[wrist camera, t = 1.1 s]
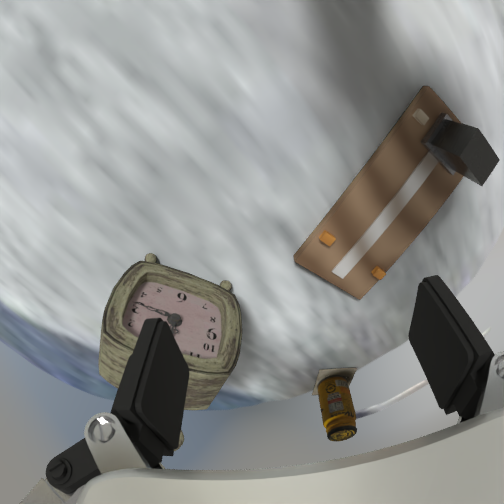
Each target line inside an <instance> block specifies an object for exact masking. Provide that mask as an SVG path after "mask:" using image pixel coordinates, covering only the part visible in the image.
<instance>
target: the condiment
mask: <svg viewBox="0 0 504 504" xmlns="http://www.w3.org/2000/svg"><path fill="white" fill-rule="evenodd" d="M356 370H357V368H340V369H336V368H335V369H325V370H319V374H318V377H317V380H316V383H315V387H314V390H313V393H312V395H319V402H320V407H321V412H322V419H323V425H324V427H325V428H326V432H327V437H328V439H329V440H331V441H343V440H347V439H349V438H351V437H353V436H354V435H355V434H356V432H357V428H356V422H355V420H356V414H355V410H354V406H353V402H352V398H351V394H350V390H349V385H350V383H351V381H352V379H353V376H354V374H355V372H356ZM328 375H329V376H328ZM326 376H328V377H326Z"/></svg>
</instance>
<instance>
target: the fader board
mask: <svg viewBox="0 0 504 504" xmlns="http://www.w3.org/2000/svg"><path fill="white" fill-rule="evenodd" d="M441 113H446V114H448V116H449V117H450V118H451V119H452V120H453V121H455V122H458V123H461V122H460V121H459V120H458V119H457V117H456V116H455V115H454V114H453V113H452V111H451V110H450V109H449V108H448V107H447V106H446V104H445V103H444V102H443V101H442V100H441V99H440V98H439V96H438V95H437V94H436V93H435V92H434V91H433V90H432V89H431V88H430V87H429V86H423V87H422V88H421V90H420V91H419V93H418V94H417V95H416V97H415V98H414V100H413V101H412V102H411V104H410V105H409V107H408V108H407V109H406V111H405V112H404V113H403V115H402V116H401V117H400V119H399V120H398V122H397V123H396V124H395V126H394V127H393V128H392V130H391V131H390V132H389V134H388V135H387V136H386V138H385V139H384V140H383V142H382V143H381V144H380V146H379V147H378V148H377V150H376V151H375V152H374V154H373V155H372V156H371V158H370V159H369V160H368V162H367V163H366V164H365V166H364V167H363V168H362V170H361V171H360V172H359V173H358V175H357V176H356V177H355V179H354V180H353V181H352V183H351V184H350V185H349V186H348V188H347V189H346V190H345V192H344V193H343V194H342V195H341V197H340V198H339V199H338V201H337V202H336V203H335V204H334V206H333V207H332V208H331V209H330V211H329V212H328V213H327V214H326V216H325V217H324V218H323V220H322V221H321V222H320V223H319V225H318V226H317V227H316V228H315V230H314V231H313V232H312V233H311V235H310V236H309V237H308V238H307V240H306V241H305V242H304V243H303V244H302V246H301V247H300V248H299V249H298V251H297V252H296V253H295V254H294V260H295V262H296V263H298V264H300V265H301V266H303V267H305V268H306V269H308V270H310V271H312V272H313V273H315V274H317V275H318V276H320V277H322V278H324V279H325V280H327V281H329V282H330V283H332V284H334V285H335V286H337V287H339V288H341V289H342V290H344V291H346V292H347V293H349V294H351V295H352V296H354V297H356V298H357V299H359V300H360V299H361V298H362V297H363V296H364V295H365V294H366V293H367V292H368V291H369V290H370V289H371V288H372V287H373V286H374V285H375V283H376V282H377V281H378V280H381V279H382V278H383V277H384V276H385V275H386V272H387V270H388V269H389V268H390V267H391V266H392V265H393V264H394V263H395V261H396V260H397V259H398V258H399V257H400V256H401V255H402V254H403V252H404V251H405V250H406V249H407V248H408V247H409V245H410V244H411V243H412V242H413V241H414V240H415V238H416V237H417V236H418V235H419V234H420V232H421V231H422V230H423V229H424V227H425V226H426V225H427V224H428V223H429V221H430V220H431V219H432V218H433V216H434V215H435V214H436V212H437V211H438V210H439V209H440V207H441V206H442V205H443V203H444V202H445V201H446V200H447V198H448V197H449V196H450V194H451V193H452V192H453V190H454V189H455V188H456V186H457V185H458V183H459V182H460V181H461V179H462V178H463V177H464V176H463V175H461V174H459V173H458V172H455V174H454V175H451V174H449V173H448V172H447V171H446V170H445V169H444V167H443V166H442V165H441V164H440V163H439V162H438V161H437V160H436V158H435V157H434V156H433V155H432V154H431V153H430V152H429V151H428V150H427V149H426V148H425V147H424V146H423V145H422V144H421V141H422V139H423V138H424V136H425V135H426V134H427V132H428V131H429V130H430V128H431V127H432V125H433V124H434V122H435V121H436V120H437V118H438V117H439V115H440V114H441Z"/></svg>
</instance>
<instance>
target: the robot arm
mask: <svg viewBox="0 0 504 504" xmlns="http://www.w3.org/2000/svg"><path fill="white" fill-rule="evenodd" d="M409 341H410V343H411V345H412V347H413V349H414V351H415V353H416V356H417V358H418V360H419V362H420V364H421V366H422V369H423V371H424V373H425V375H426V377H427V380H428V382H429V384H430V386H431V389H432V391H433V393H434V396H435V398H436V400H437V403H438V405H439V407H440V408H441V409H444V411H445V413H446V415H447V414H450V413H452V412H455V411H457V412H458V414H459V419H458V422H457V424H456V425H454V426H451V427H449V428H446V429H443V430H440V431H438V432H435V433H432V434H429V435H426V436H423V437H420V438H417V439H414V440H411V441H408V442H405V443H401V444H398V445H394V446H391V447H387V448H383V449H380V450H376V451H372V452H367V453H363V454H359V455H354V456H350V457H345V458H340V459H334V460H329V461H323V462H317V463H310V464H303V465H296V466H286V467H276V468H265V469H249V470H175V469H165V468H164V466H163V465H162V464H161V461H162V456H173V453H174V449H177V448H178V446H179V439H180V432H181V425H182V418H183V412H184V406H185V399H186V393H187V387H188V381H189V367H188V365H187V363H186V361H185V359H184V357H183V355H182V352H181V350H180V348H179V346H178V344H177V342H176V340H175V338H174V336H173V333H172V331H171V329H170V327H169V325H168V323H167V322H166V321H163V320H162V319H161V318H150V319H145V321H144V323H143V326H142V329H141V331H140V334H139V337H138V340H137V342H136V345H135V348H134V351H133V354H131V355H130V357H129V359H128V361H127V364H126V367H125V370H124V373H123V376H122V379H121V382H120V385H119V388H118V391H117V394H116V397H115V400H114V404H113V407H112V410H111V413H106V412H105V413H100V414H97V415H95V416H93V417H92V418H91V419H90V420H89V421H88V423H87V424H86V427H85V431H84V435H85V438H84V439H82V440H81V441H79V442H78V443H76V444H75V445H73V446H72V447H70V448H68V449H67V450H65V451H64V452H62V453H61V454H59V455H57V456H56V457H54V458H53V459H52V460H51V461H50V462H49V464H48V465H47V468H46V477H47V478H46V479H45V480H44V479H43V478H41V480H40V481H39V482H38V483H37V484H36V485H35V486H34V487H33V489H32V490H31V491H30V492H29V493H28V494H27V495H26V497H25V498H24V499H23V500H22V501H21V502H20V503H19V504H504V351H503V352H499V353H497V354H496V355H494V353H493V351H492V350H491V348H490V347H489V345H488V343H487V342H486V340H485V339H484V337H483V336H482V334H481V333H480V331H479V330H478V329H477V327H476V326H475V324H474V322H473V321H472V320H471V318H470V317H469V315H468V314H467V313H466V311H465V310H464V308H463V307H462V306H461V304H460V303H459V301H458V300H457V299H456V297H455V296H454V295H453V293H452V292H451V291H450V289H449V288H448V287H447V286H446V284H445V283H444V282H443V280H442V279H441V278H440V277H439V276H438V275H435V276H430V277H426V278H424V279H423V280H422V282H421V283H420V284H419V286H418V292H417V297H416V302H415V307H414V312H413V317H412V322H411V326H410V330H409Z"/></svg>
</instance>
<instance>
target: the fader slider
mask: <svg viewBox="0 0 504 504" xmlns="http://www.w3.org/2000/svg"><path fill="white" fill-rule="evenodd" d="M421 144H422V145H423V146H424V147H425V148H426V149H427V150H428V151H429V152H430V153H431V154H432V155H433V156H434V157H435V158H436V160H437V161H438V162H439V163H440V164H441V165H442V166H443V167H444V169H445V170H446V171H447V172H448V173H449V174H451V175H454V174H455V172H458V173H459V174H461V175H463V176H465V177H467V178H468V179H470V180H472V181H474V182H475V183H477V184H479V185H480V186H482V185H483V184H484V183H485V181H486V180H487V178H488V177H489V175H490V174H491V172H492V171H493V169H494V168H495V166H496V165H497V163H498V162H499V158H498V157H497V155H496V154H495V152H494V150H493V149H492V147H491V146H490V144H489V143H488V142H487V140H486V139H485V137H484V136H483V134H482V133H481V132H480V130H479V129H478V128H475V127H472V126H468V125H465V124H462V123H458V122H455V121H453V120H452V119H451V118H450V117H449V116H448V114H446V113H441V114H440V115H439V117H438V118H437V120H436V121H435V122H434V124H433V125H432V127H431V128H430V130H429V131H428V132H427V134H426V135H425V136H424V138H423V139H422V141H421Z"/></svg>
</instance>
